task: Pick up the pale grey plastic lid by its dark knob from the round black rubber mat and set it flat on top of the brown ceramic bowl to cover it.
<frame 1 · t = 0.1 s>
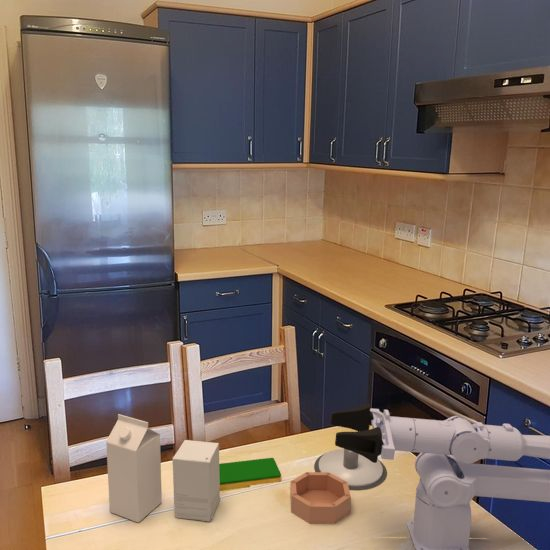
hand: (333, 428, 97), 22 cm above the table, tool horizontal, fingers open, 7 cm apart
supplement box: (197, 509, 109), on the table
lid: (350, 468, 123), resting on mat
milk carton: (136, 508, 108), on the table
dish sponge: (246, 480, 119), on the table
mat: (350, 470, 123), on the table
bowl: (319, 506, 110), on the table
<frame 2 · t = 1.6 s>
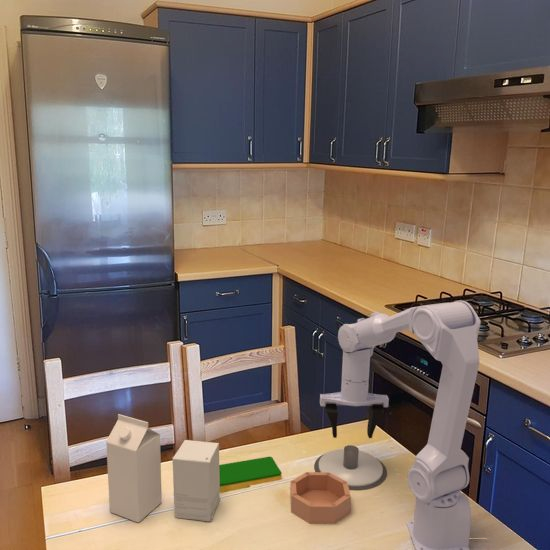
hand: (352, 435, 121), 8 cm above the table, tool pointing down, fingers open, 7 cm apart
nothing on the table moved.
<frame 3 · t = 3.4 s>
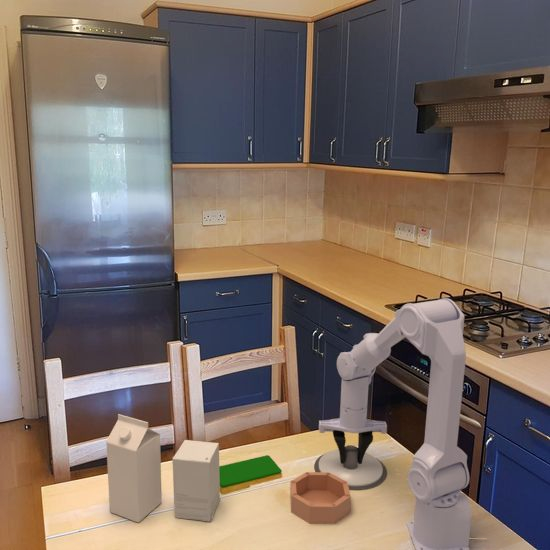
hand: (350, 461, 122), 2 cm above the table, tool pointing down, fingers closed on lid, 3 cm apart
lid: (350, 468, 123), resting on mat, touching gripper
everything else where it was.
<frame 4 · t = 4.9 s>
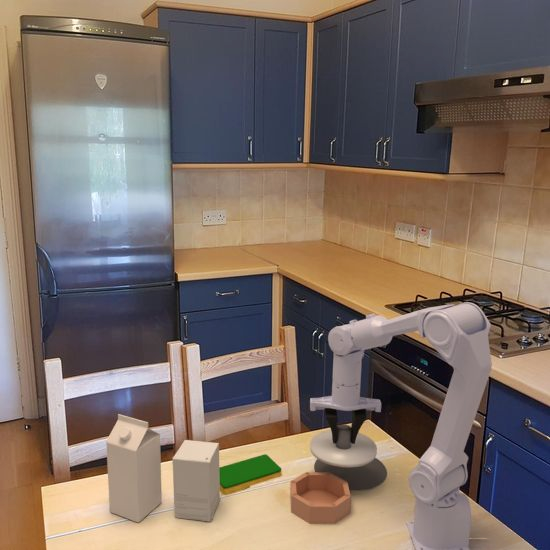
hand: (343, 441, 117), 9 cm above the table, tool pointing down, fingers closed on lid, 3 cm apart
lid: (343, 449, 117), point 8 cm above the table, touching gripper
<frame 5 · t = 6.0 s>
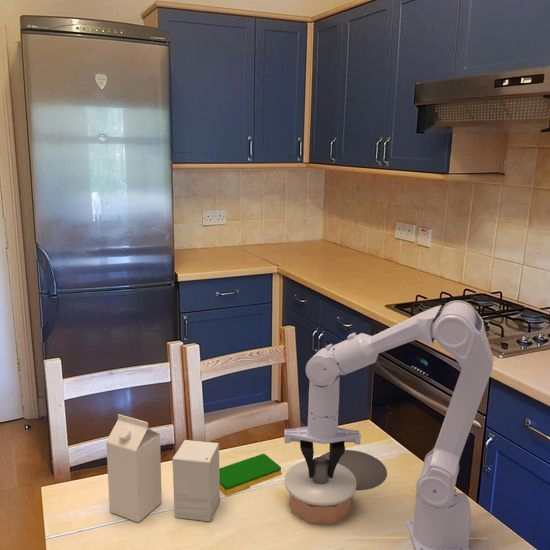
hand: (320, 475, 108), 7 cm above the table, tool pointing down, fingers closed on lid, 3 cm apart
lid: (320, 483, 109), point 5 cm above the table, touching gripper
when the fingers open (7 cm above the table, at t = 6.7 s): lid drops 1 cm, resting on bowl.
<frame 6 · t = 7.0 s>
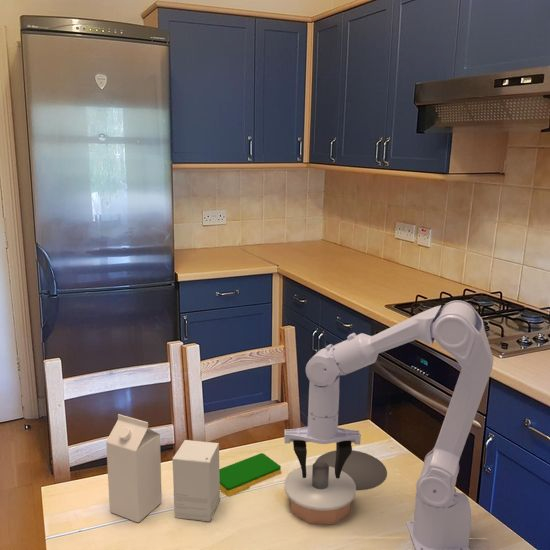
hand: (320, 475, 108), 7 cm above the table, tool pointing down, fingers open, 6 cm apart
lid: (319, 488, 109), point 4 cm above the table, touching bowl
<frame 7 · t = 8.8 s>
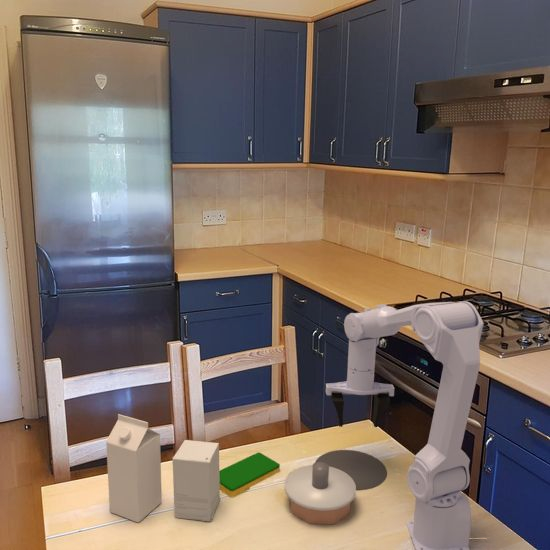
hand: (357, 424, 121), 10 cm above the table, tool pointing down, fingers open, 7 cm apart
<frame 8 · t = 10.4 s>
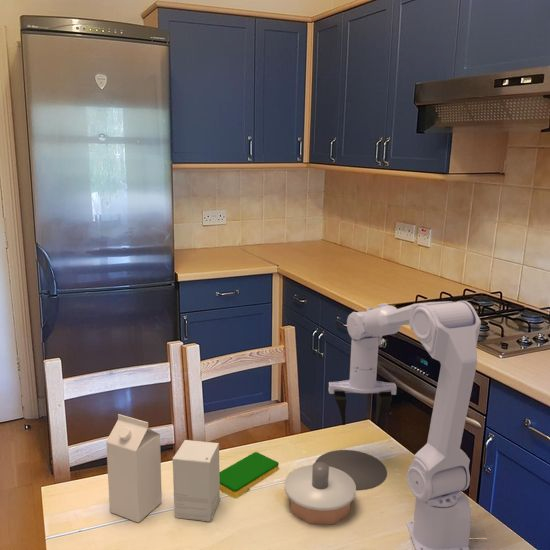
hand: (360, 423, 122), 10 cm above the table, tool pointing down, fingers open, 7 cm apart
at the end: lid 0.1 cm off-centre on the bowl, point 4.0 cm above the bowl's base; lid tilted 0°; the gripper is holding nothing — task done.
